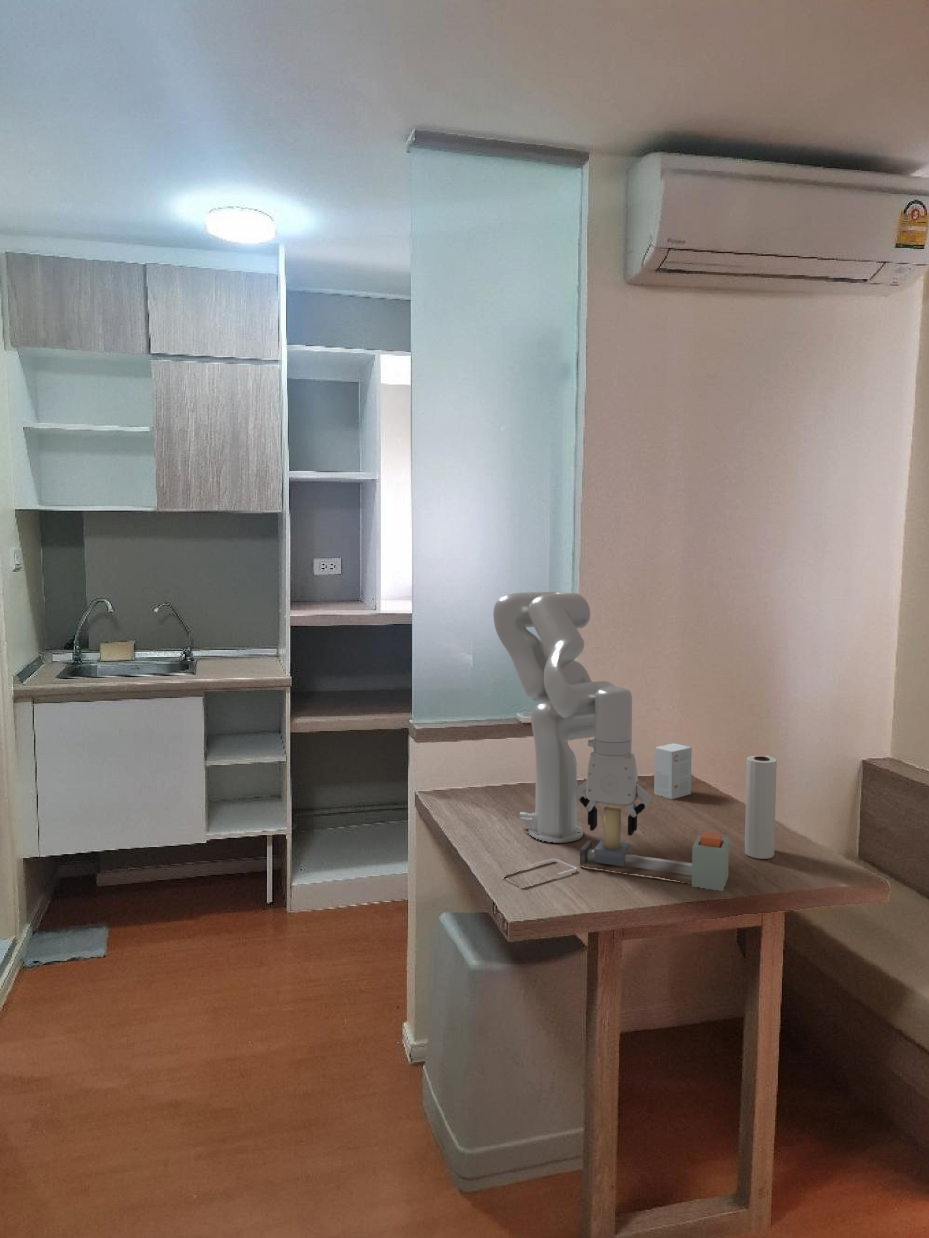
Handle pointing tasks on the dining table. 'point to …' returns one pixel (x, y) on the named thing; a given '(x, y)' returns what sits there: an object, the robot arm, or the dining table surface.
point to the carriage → (611, 840)
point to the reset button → (711, 839)
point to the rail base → (640, 865)
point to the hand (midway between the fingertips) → (612, 830)
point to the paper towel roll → (760, 806)
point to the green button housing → (710, 865)
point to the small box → (672, 770)
